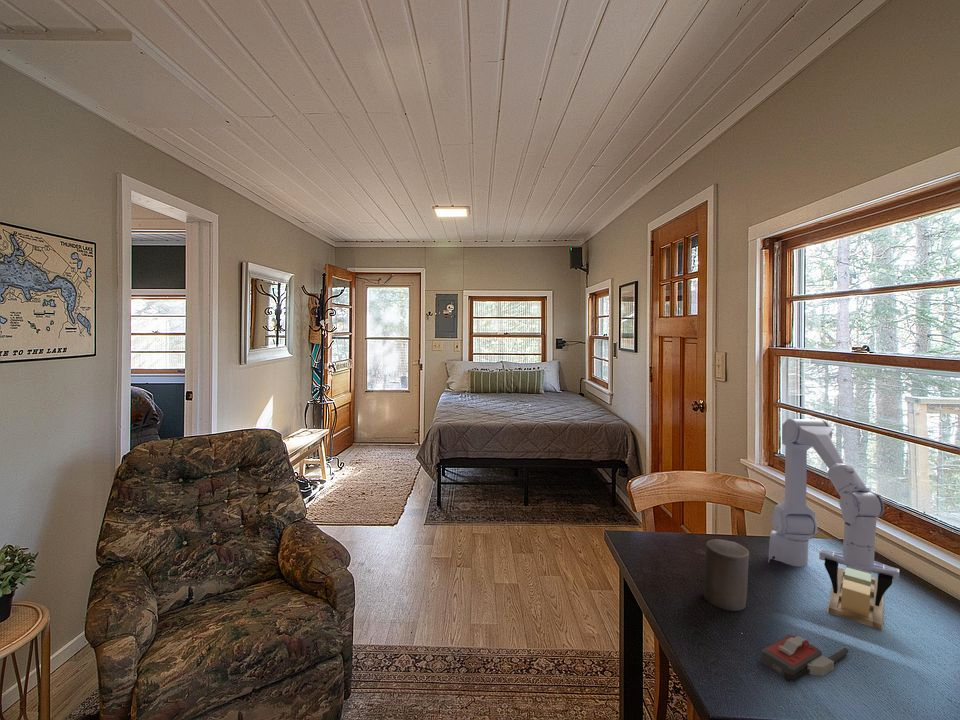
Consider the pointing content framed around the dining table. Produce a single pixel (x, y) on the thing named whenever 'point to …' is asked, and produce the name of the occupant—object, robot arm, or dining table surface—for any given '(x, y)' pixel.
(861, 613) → the ochre block
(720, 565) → the pillar candle
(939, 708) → the dining table surface
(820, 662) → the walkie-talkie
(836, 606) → the slot board
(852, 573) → the sage block
